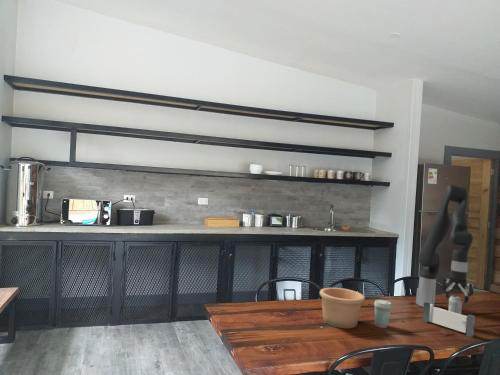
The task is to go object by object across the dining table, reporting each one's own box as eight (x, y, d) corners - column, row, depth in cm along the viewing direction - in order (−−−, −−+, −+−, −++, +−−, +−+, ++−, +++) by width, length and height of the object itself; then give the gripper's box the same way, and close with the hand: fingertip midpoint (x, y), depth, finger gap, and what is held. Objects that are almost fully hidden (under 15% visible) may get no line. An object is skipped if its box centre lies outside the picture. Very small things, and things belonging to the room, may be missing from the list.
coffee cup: (381, 330, 183) (383, 305, 183) (368, 323, 191) (370, 299, 190) (394, 328, 187) (396, 303, 187) (380, 321, 195) (382, 298, 194)
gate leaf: (428, 321, 198) (429, 304, 198) (429, 320, 199) (431, 303, 199) (465, 333, 185) (466, 314, 185) (466, 332, 186) (468, 314, 186)
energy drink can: (462, 327, 196) (465, 298, 196) (452, 327, 194) (455, 298, 194) (454, 323, 202) (456, 295, 201) (444, 323, 200) (446, 294, 200)
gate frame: (422, 321, 200) (423, 302, 200) (424, 320, 202) (425, 302, 202) (471, 337, 182) (473, 316, 182) (473, 336, 184) (475, 316, 184)
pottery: (314, 324, 183) (316, 295, 183) (321, 311, 204) (323, 285, 203) (360, 334, 175) (363, 303, 175) (363, 319, 196) (365, 292, 196)
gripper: (441, 267, 201) (439, 298, 200) (471, 273, 190) (469, 305, 190) (447, 266, 206) (445, 296, 205) (476, 272, 195) (474, 303, 195)
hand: (456, 300), depth 198 cm, fingers open, 8 cm apart
